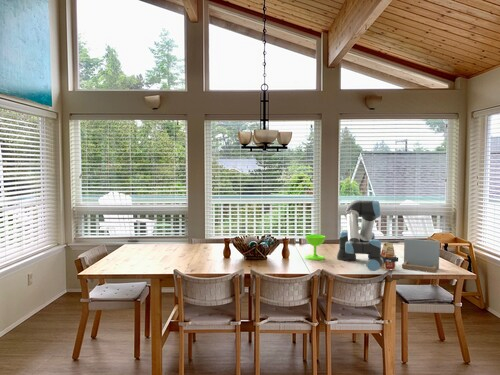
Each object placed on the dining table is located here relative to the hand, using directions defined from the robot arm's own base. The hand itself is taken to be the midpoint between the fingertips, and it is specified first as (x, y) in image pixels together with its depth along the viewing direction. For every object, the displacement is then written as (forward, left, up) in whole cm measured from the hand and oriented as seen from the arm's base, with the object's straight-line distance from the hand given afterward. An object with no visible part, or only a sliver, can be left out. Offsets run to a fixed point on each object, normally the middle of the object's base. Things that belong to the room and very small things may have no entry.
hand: (385, 255), depth 275 cm
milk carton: (-6, +6, -11) cm, 14 cm away
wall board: (-2, +30, -11) cm, 32 cm away
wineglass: (-50, -32, -11) cm, 60 cm away
